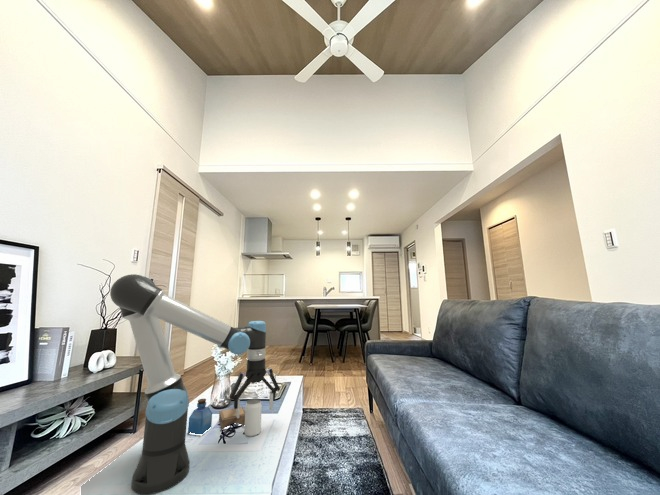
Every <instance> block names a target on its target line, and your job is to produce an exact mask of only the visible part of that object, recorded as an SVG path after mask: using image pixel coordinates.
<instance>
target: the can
mask: <svg viewBox="0 0 660 495" xmlns="http://www.w3.org/2000/svg"><path fill="white" fill-rule="evenodd" d="M262 408H263V407H262V402H261V399H260V398H256V397H255V398H249V399H247V400H246V404H245V409H244V410H245V426H243V427H244V428H243V429H244V432H243V433H244V435H245V436H246V437H249V438H250V437H255V435H256V436H258V435H260V433H261V430H262ZM257 434H258V435H257Z"/></svg>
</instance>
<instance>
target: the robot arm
mask: <svg viewBox="0 0 660 495" xmlns="http://www.w3.org/2000/svg"><path fill="white" fill-rule="evenodd" d="M109 295H110V298H111V299H110V300H111V301H112V302H113V304H114V305H115V306H118V307H119V309H120V314H121V316H122V318H123V319H124V320H127V321H128V322H129V324H130V328H131V331H132V335H133V338H134V342H135V344H136V349H137V352H138V355H139V359H140V361H141V364H142V365H141V366H142V369H143V371H144V375H145V376H144V377H145V379H146V383H147V387H146V388H145V390H144V396H145V398H146V402H147V406H146V408H145V412H144V413H145V418H144V419H145V420H144V422H145V423H144V431H143V439H142V440H143V441H142V448H141V449H142V450H141V455H140V457H139V460H138V463H137V465H136V467H135V469H134V472H133V475H132V479H131V490H132V491H133V492H134V493H136V494H139V495H140V494H141V495H149V494H150V495H151V494H156V493H160V492H163V491H165V490H169V489H170V488H172V487H174V486H176V485H178V484H179V483H180V482H182V481H183V480H184V479H185V478H186V477H187V476H188V474H189V471H190V462H191V461H190V458H189V454H188V450H187V446H186V436H187V427H188V426H187V424H188V423H187V422H188V415H189V414H188V412H189V406H190V399H189V398H190V397H189V393H188V390H187V387H186V386H185V385H184V381H183V378H182V375H181V374H179V373H176V371H175V368H174V364H173V362H172V358H171V354H170V352H169V348H168V344H167V342H166V338H165V334H164V331H163V327H162V323H161V321H163V322H166V323H167V324H169V325H172V326H174V327H176V328H179V329H181V330H182V331H185V332H188V333H190V334H193V335H194V336H197V337H199V338H201V339H203V340H206V341H208V342H210V343H212V344H214V345H217V347H218V348H220V349H225V350H227V351H229V352H230V353H231V354H234V355H238V356H239V355H240V356H241V355H242V354H245V353H246V352H247V353H246V355H247V356H246V359H247V360H246V372H241V371H239V373H238V377H237V379H236V382H235V384H234V386H233V388H232V389H231V392H230V393H229V394H230V395H229V397H228V398H229V399H230V401H232V400H233V408H235V409H236V417H237V418H239V411H240V407H241V400H240V398H241V396H242V394H244V392H245V390H246V389H247V387H249V386H250V384H251V383H252V384H256V383H261V382H263V383H264V384H265V385H266V386H267V388H268V389H269V390H270V391H269V396H268V397H269V402H268V403H269V404H268V405H269V406H268V409H269V410H270V411H271V412H272V411H273V410H274V401H276V393H277V392H278V391H280V386H279V384H278V382H277V379H276V378H275V376H274V372H273V371H274V370H273V368H271V367H268V368H267V369H266V350H267V349H266V343H267V342H266V340H267V324H266V321H263V320H252V321H249V322H248V324H247V326H243V327H242V326H241V327H240V326H239V327H232V326H231V325H229V324H227V323H225V322H223V321H221V320H219V319H216V318H214V317H213V316H211V315H208V314H206V313H205V312H202V311H200V310H199V309H198V310H197V309H196V308H194V307H191V306H190V305H188V304H186V303H184V302H182V301H180V300H177V299H175V298H173V297H171V296H169V295H167V294H165V290H164V289H162V288H160V287H158V286H157V285H156V283H155V282H154V281H153V280H152V279H151V278H149V277H146V276H143V275H140V274H137V273H136V274H135V273H134V274H127V275H124V276H121V277H120V278H118V279H117V280H115V281H114V283H113V284H112V285H111V288H110V292H109ZM160 320H161V321H160ZM266 375H269V378H270V379H271V382H272V384H273V386H272V385H271V383H270V382H269V381H268V380H267V379H266V378H265V376H266ZM245 377H246V379H245ZM244 379H245V381H244V382H243V384H242V385H241V383H242V381H243V380H244ZM240 385H241V387H240Z"/></svg>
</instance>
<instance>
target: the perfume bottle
mask: <svg viewBox="0 0 660 495" xmlns="http://www.w3.org/2000/svg"><path fill="white" fill-rule="evenodd" d="M206 401H207V399H206V398H199V399H198V400H197V403H196V404H197V405H196V407H197V408H195V409H194V410H193V411H192V413H191V414H190V415H189V417H188V426H187V434H188V433H190V432H191V433H195V434H203V433H204V432H205V431H206V430H208V429H209V428H210V427H211V428H212V421H213V411H212V410H211V408H210V406H207V402H206Z"/></svg>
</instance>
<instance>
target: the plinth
mask: <svg viewBox="0 0 660 495" xmlns="http://www.w3.org/2000/svg"><path fill="white" fill-rule="evenodd" d="M218 422H220V423H219V426H221V427H220V429H223V428H224V427H227V426H229V425H230V424H232V423H239V424H242V425H245V409H244V407H243V406H240V411H239V418H237V417H236V409H235V408H234V407H233V408H229V409H223V410H220V411H219V415H218Z"/></svg>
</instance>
